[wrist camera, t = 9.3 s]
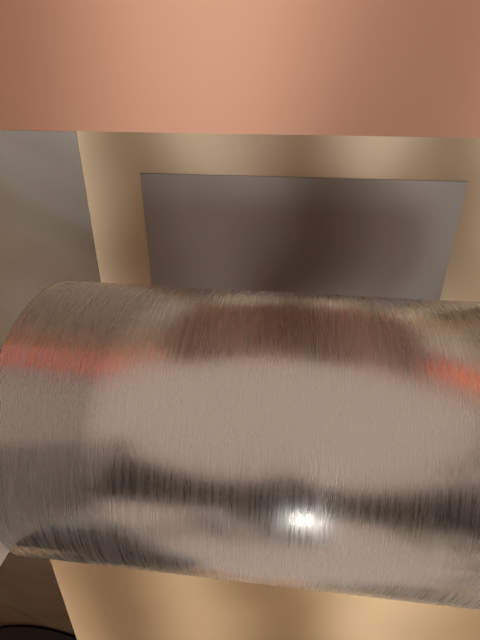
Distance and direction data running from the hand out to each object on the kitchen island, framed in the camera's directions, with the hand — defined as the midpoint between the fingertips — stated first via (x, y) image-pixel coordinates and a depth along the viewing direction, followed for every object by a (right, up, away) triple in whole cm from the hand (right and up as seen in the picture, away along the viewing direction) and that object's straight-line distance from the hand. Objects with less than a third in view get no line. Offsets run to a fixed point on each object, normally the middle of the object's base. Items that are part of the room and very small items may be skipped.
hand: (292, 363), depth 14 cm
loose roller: (0, 0, +1) cm, 1 cm away
